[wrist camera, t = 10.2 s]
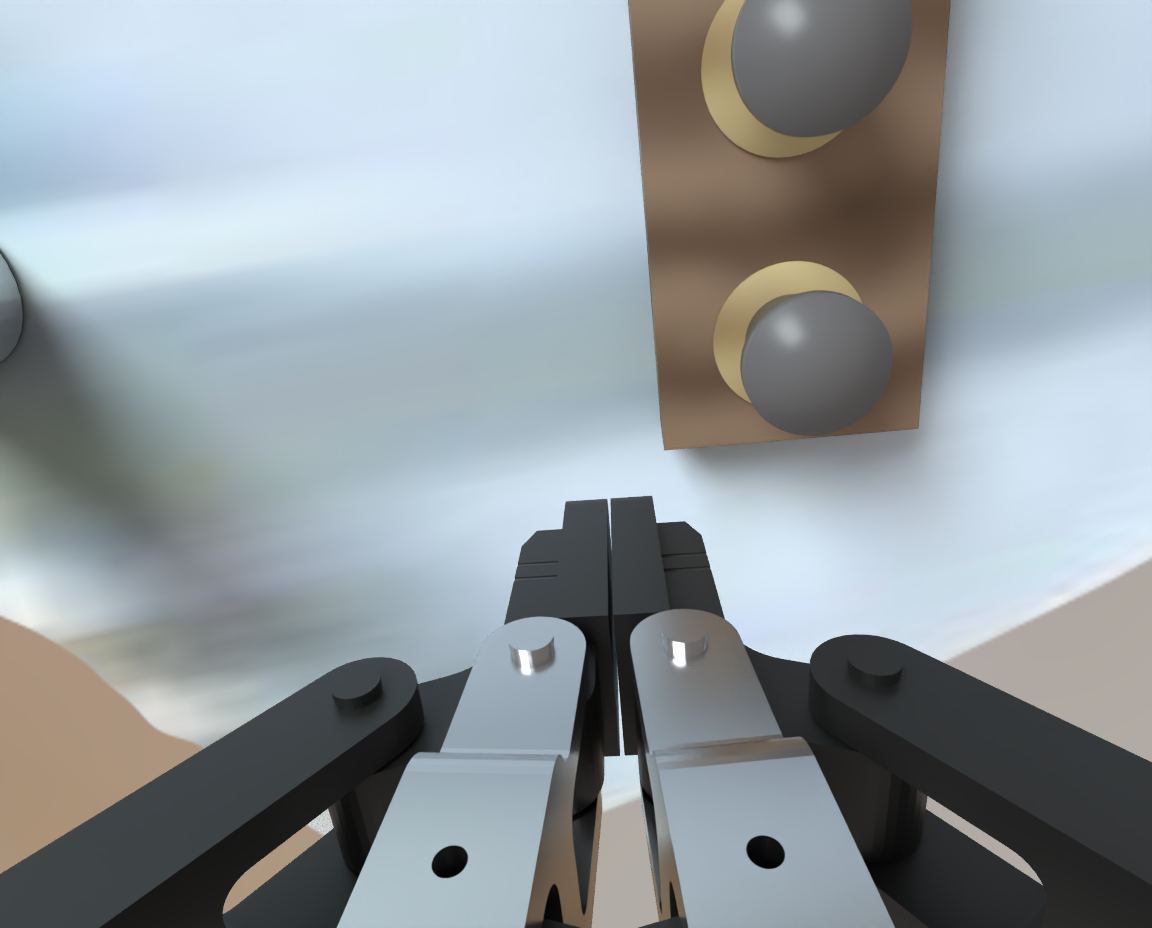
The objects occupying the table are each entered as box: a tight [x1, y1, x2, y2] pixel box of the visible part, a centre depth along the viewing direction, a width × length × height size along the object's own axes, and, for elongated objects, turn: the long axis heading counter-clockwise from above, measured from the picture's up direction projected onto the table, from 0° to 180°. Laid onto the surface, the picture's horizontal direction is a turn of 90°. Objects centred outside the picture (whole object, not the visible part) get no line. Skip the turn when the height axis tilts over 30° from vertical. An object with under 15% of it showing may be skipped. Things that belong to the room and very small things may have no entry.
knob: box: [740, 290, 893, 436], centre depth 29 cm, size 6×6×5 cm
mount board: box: [628, 0, 950, 450], centre depth 29 cm, size 32×12×4 cm, turn 7°
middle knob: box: [731, 0, 912, 138], centre depth 25 cm, size 6×6×5 cm
